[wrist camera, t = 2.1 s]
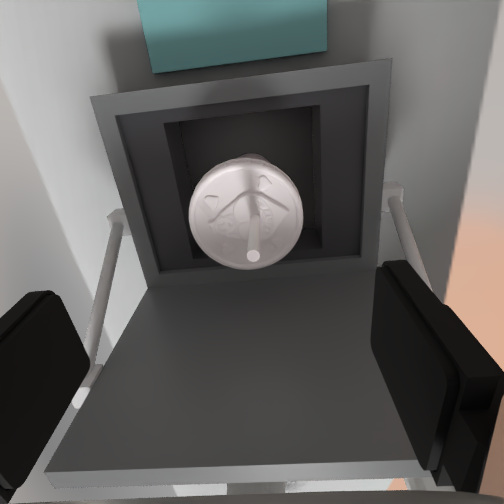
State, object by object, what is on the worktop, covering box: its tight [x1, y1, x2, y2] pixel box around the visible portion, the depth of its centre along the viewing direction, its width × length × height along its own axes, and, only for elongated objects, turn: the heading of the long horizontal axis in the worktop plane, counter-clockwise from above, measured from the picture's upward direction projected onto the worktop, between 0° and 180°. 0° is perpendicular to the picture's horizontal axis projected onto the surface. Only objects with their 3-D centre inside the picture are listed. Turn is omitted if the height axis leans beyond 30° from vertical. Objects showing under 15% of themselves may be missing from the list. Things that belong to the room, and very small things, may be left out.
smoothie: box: [189, 153, 303, 270], centre depth 20 cm, size 6×6×14 cm
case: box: [44, 58, 433, 488], centre depth 18 cm, size 21×15×18 cm
